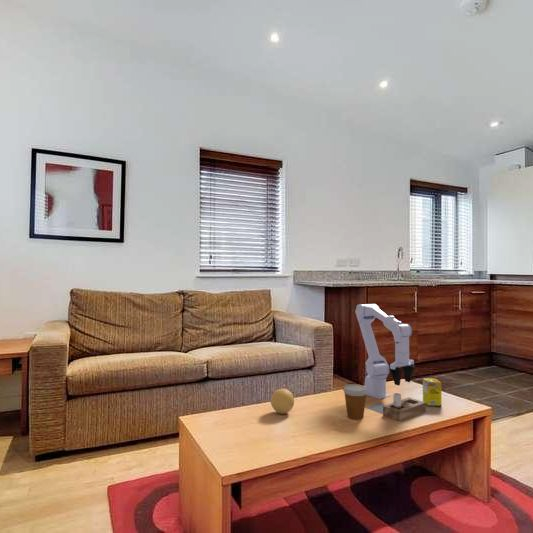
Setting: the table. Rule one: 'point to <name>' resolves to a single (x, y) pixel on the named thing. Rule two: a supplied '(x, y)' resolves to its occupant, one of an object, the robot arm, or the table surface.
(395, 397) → the peg
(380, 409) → the mat
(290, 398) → the stress ball
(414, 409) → the socket block
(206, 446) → the table surface
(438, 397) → the supplement box
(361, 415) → the disposable coffee cup
